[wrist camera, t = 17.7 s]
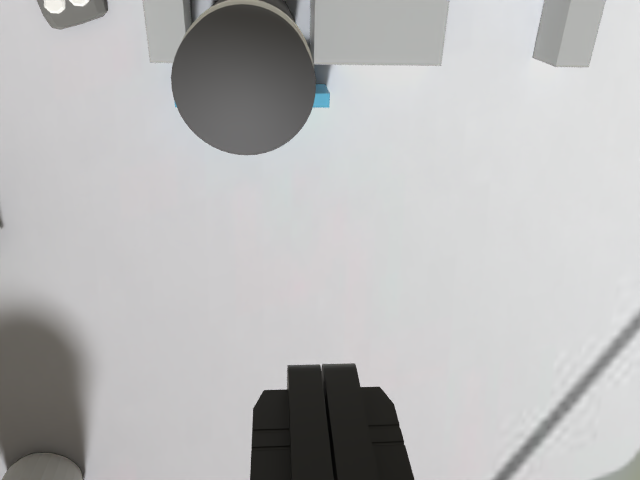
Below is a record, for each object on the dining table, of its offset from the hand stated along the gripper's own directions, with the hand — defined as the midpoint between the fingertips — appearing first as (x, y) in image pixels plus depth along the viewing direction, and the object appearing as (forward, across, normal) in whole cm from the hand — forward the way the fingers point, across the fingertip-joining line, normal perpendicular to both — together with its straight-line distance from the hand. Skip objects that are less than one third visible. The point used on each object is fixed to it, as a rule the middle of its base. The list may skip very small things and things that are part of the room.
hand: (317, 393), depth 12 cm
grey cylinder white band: (+24, +2, -5) cm, 25 cm away
